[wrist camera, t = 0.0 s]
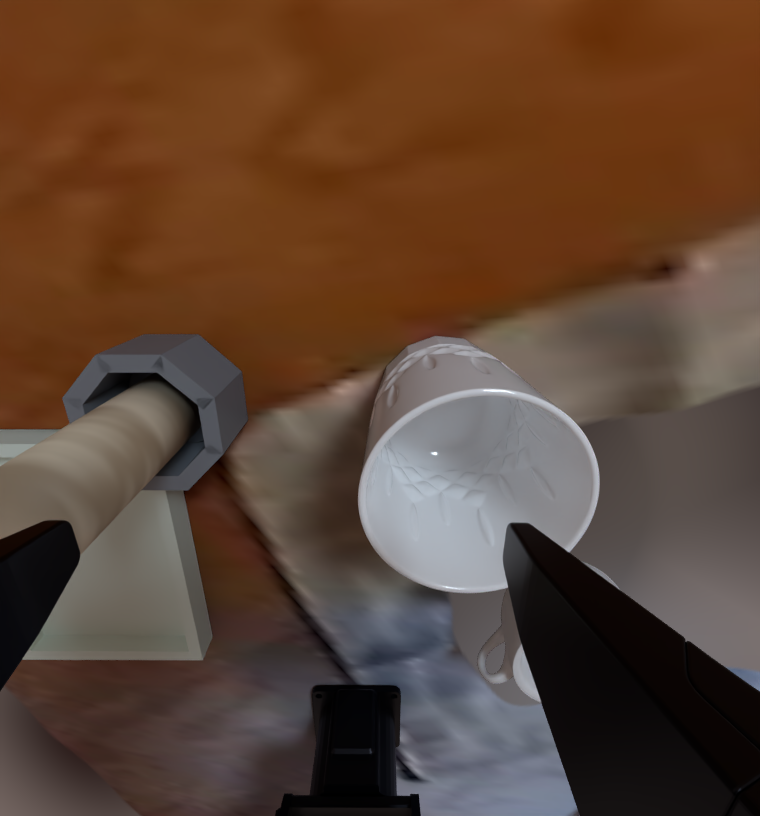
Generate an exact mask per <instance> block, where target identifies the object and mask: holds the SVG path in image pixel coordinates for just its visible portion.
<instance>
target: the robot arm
mask: <svg viewBox="0 0 760 816" xmlns="http://www.w3.org/2000/svg"><path fill="white" fill-rule="evenodd" d="M79 560H80V549H79V546H78V543H77V540H76V537H75V534H74V531H73V528H72V525H71V524H70V523H69V522H68V521H66V520H45V521H42V522H40V523H37V524H35V525H33V526H30V527H28V528H26V529H23V530H21V531H19V532H16V533H14V534H12V535H9V536H7V537H5V538H2V539H0V691H1V689H2V688H3V687H4V685H5V684H6V682H7V681H8V679H9V678H10V676H11V675H12V673H13V672H14V670H15V669H16V667H17V666H18V665H19V663H20V662H21V660H22V659H23V657H24V656H25V654H26V653H27V651H28V650H29V648H30V647H31V645H32V644H33V642H34V641H35V639H36V638H37V636H38V635H39V633H40V631H41V629H42V628H43V626H44V624H45V623H46V621H47V619H48V617H49V616H50V614H51V612H52V610H53V608H54V607H55V605H56V603H57V601H58V600H59V598H60V596H61V594H62V592H63V591H64V589H65V587H66V585H67V584H68V582H69V580H70V578H71V576H72V575H73V573H74V571H75V569H76V567H77V566H78V564H79ZM503 566H504V571H505V576H506V580H507V585H508V589H509V594H510V598H511V603H512V607H513V612H514V616H515V620H516V625H517V629H518V633H519V637H520V641H521V644H522V647H523V650H524V653H525V656H526V659H527V662H528V665H529V668H530V671H531V674H532V677H533V680H534V683H535V686H536V688H537V691H538V694H539V697H540V700H541V703H542V706H543V709H544V712H545V715H546V718H547V721H548V724H549V726H550V729H551V732H552V735H553V738H554V741H555V744H556V747H557V750H558V753H559V756H560V759H561V762H562V764H563V767H564V770H565V773H566V776H567V779H568V782H569V785H570V788H571V791H572V794H573V797H574V800H575V803H576V805H577V808H578V811H579V814H580V816H760V691H758V690H757V689H755V688H754V687H752V686H751V685H749V684H748V683H747V682H745V681H744V680H742V679H741V678H739V677H738V676H737V675H735V674H734V673H732V672H731V671H730V670H728V669H727V668H725V667H724V666H723V665H721V664H720V663H718V662H717V661H716V660H714V659H713V658H711V657H710V656H709V655H707V654H706V653H705V652H703V651H702V650H701V649H699V648H698V647H697V646H695V645H694V644H692V643H691V642H689V641H687V642H685V638H684V637H683V636H681V635H680V634H679V633H677V632H676V631H675V630H673V629H672V628H671V627H669V626H668V625H667V624H665V623H664V622H662V621H661V620H660V619H658V618H657V617H656V616H654V615H653V614H652V613H650V612H649V611H648V610H646V609H645V608H643V607H642V606H641V605H639V604H638V603H637V602H635V601H634V600H633V599H631V598H630V597H629V596H627V595H626V594H625V593H623V592H622V591H621V590H619V589H618V588H617V587H615V586H614V585H612V584H611V583H610V582H608V581H607V580H606V579H604V578H603V577H602V576H600V575H599V574H598V573H596V572H595V571H593V570H592V569H591V568H589V567H588V566H587V565H585V564H584V563H583V562H581V561H580V560H579V559H577V558H576V557H574V556H573V555H572V554H570V553H569V552H568V551H566V550H565V549H564V548H562V547H561V546H560V545H558V544H557V543H556V542H554V541H553V540H552V539H550V538H549V537H547V536H546V535H545V534H543V533H542V532H541V531H539V530H538V529H537V528H535V527H534V526H533V525H531V524H529V523H521V522H512V523H509V524H508V526H507V528H506V535H505V542H504V549H503ZM312 700H313V712H314V723H315V734H316V750H315V757H314V765H313V773H312V781H311V788H310V795H293V794H284V796H283V800H282V804H281V808H279V809H278V810H276V814H275V816H421V814H420V804H419V794H410V796H397V787H396V749H395V748H396V747H398V746H399V742H400V703H401V692H400V689H399V688H398V687H395V686H317V687H315V688H314V689H313V693H312Z"/></svg>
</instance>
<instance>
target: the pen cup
mask: <svg viewBox="0 0 760 816" xmlns="http://www.w3.org/2000/svg"><path fill="white" fill-rule="evenodd" d="M153 373H158V374H160V375H161V376H162V377H163V378H165V379H166V380H167V381H168V382H170V383H171V384H172V385H173V386H175V387H176V388H177V389H178V390H180V391H181V392H182V393H183V394H185V395H186V396H187V397H188V398H190V399H191V400H192V401H193V402H195V403H196V404H197V405H198V409H199V415H200V421H201V427H200V428H199V429H198V430H197V432H196V433H195V434H194V435H193V436H192V437H191V438H190V439H189V440H188V441H187V442H186V443H185V444H184V445H183V446H182V447H181V449H180V450H179V451H178V452H177V453H176V454H175V455H174V456H173V457H172V458H171V459H170V460H169V461H168V462H167V463H166V464H165V466H164V467H163V468H162V469H161V470H160V471H159V472H158V473H157V474H156V475H155V476H154V477H153V478H152V479H151V480H150V482H149V483H148V484H147V485H146V486H145V487H144V488H143V489H142V490H189V489H190V488H191V487H192V486H193V485H194V484H195V483H196V482H197V481H198V480H199V479H200V478H201V477H202V476H203V475H204V473H205V472H206V471H207V470H208V469H209V468H210V467H211V466H212V465H213V464H214V463H215V462H216V461H217V460H218V459H219V458H220V457H221V456H222V455H223V454H224V452H225V451H226V450H227V448H228V447H229V446H230V444H231V443H232V441H233V440H234V439H235V437H236V436H237V434H238V433H239V432H240V430H241V429H242V427H243V426H244V425H245V423H246V422H247V421H248V417H247V409H246V401H245V393H244V385H243V378H242V371H240V370H239V369H238V368H237V367H236V366H235V365H233V364H232V363H231V362H230V361H229V360H228V359H226V358H225V357H224V356H223V355H222V354H221V353H219V352H218V351H217V350H216V349H215V348H214V347H212V346H211V345H210V344H209V343H208V342H207V341H205V340H204V339H203V338H202V337H201V336H200V335H198V334H144V335H141V336H139V337H137V338H134V339H132V340H130V341H127V342H125V343H122V344H120V345H118V346H115V347H113V348H111V349H108V350H106V351H103V352H101V353H99V354H96V355H95V356H94V358H93V359H92V360H91V362H90V363H89V364H88V365H87V367H86V368H85V369H84V371H83V372H82V373H81V375H80V376H79V377H78V378H77V380H76V381H75V382H74V384H73V385H72V386H71V388H70V389H69V390H68V391H67V393H66V394H65V395H64V397H63V398H62V399H63V402H64V405H65V409H66V412H67V415H68V419H69V422H70V423H72V422H74V421H75V420H77V419H79V418H80V417H82V416H84V415H85V414H87V413H89V412H90V411H92V410H94V409H95V408H97V407H98V406H100V405H102V404H103V403H105V402H107V401H108V400H110V399H112V398H113V397H115V396H117V395H118V394H120V393H122V392H123V391H125V390H126V389H128V388H130V387H131V386H133V385H135V384H136V383H138V382H140V381H141V380H143V379H145V378H146V377H148V376H150V375H151V374H153Z"/></svg>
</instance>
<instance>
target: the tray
mask: <svg viewBox="0 0 760 816" xmlns="http://www.w3.org/2000/svg"><path fill="white" fill-rule="evenodd" d="M57 431H59V430H0V466H1V465H3V464H5V463H6V462H8V461H10V460H11V459H13V458H15V457H16V456H18V455H19V454H21V453H23V452H24V451H26V450H28V449H29V448H31V447H33V446H34V445H36V444H38V443H39V442H41V441H43V440H44V439H46V438H47V437H49V436H51V435H52V434H54V433H56V432H57ZM212 637H213V635H212V630H211V625H210V620H209V616H208V611H207V606H206V601H205V596H204V591H203V586H202V581H201V576H200V571H199V566H198V561H197V556H196V551H195V546H194V541H193V536H192V531H191V526H190V522H189V517H188V512H187V507H186V502H185V497H184V492H183V490H141V491H140V492H139V493H138V494H137V495H136V496H135V497H134V499H133V500H132V501H131V502H130V503H129V504H128V505H127V506H126V507H125V508H124V509H123V510H122V511H121V512H120V513H119V514H118V516H117V517H116V518H115V519H114V520H113V521H112V522H111V523H110V524H109V525H108V526H107V527H106V528H105V529H104V530H103V531H102V533H101V534H100V535H99V536H98V537H97V538H96V539H95V540H94V541H93V542H92V543H91V544H90V545H89V546H88V547H87V549H86V550H85V551H84V552H83V553H82V554H81V555H80V560H79V564H78V566H77V567H76V569H75V571H74V573H73V575H72V576H71V578H70V580H69V582H68V584H67V585H66V587H65V589H64V591H63V592H62V594H61V596H60V598H59V600H58V601H57V603H56V605H55V607H54V608H53V610H52V612H51V614H50V616H49V617H48V619H47V621H46V623H45V624H44V626H43V628H42V629H41V631H40V633H39V635H38V636H37V638H36V639H35V641H34V642H33V644H32V645H31V647H30V648H29V650H28V651H27V653H26V654H25V656H24V657H23V659H22V660H203V659H204V656H205V654H206V652H207V649H208V647H209V645H210V642H211V640H212Z"/></svg>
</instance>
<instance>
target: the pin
mask: <svg viewBox="0 0 760 816" xmlns="http://www.w3.org/2000/svg"><path fill="white" fill-rule="evenodd" d="M200 427H201V421H200V415H199V409H198V405H197V404H196V403H195V402H193V401H192V400H191V399H190V398H188V397H187V396H186V395H185V394H183V393H182V392H181V391H180V390H178V389H177V388H176V387H175V386H173V385H172V384H171V383H170V382H168V381H167V380H166V379H165V378H163V377H162V376H161V375H160V374H158V373H153V374H151V375H150V376H148V377H146V378H145V379H143V380H141V381H140V382H138V383H136V384H135V385H133V386H131V387H130V388H128V389H126V390H125V391H123V392H122V393H120V394H118V395H117V396H115V397H113V398H112V399H110V400H108V401H107V402H105V403H103V404H102V405H100V406H98V407H97V408H95V409H94V410H92V411H90V412H89V413H87V414H85V415H84V416H82V417H80V418H79V419H77V420H75V421H74V422H72V423H70V424H69V425H67V426H66V427H64V428H62V429H61V430H59V431H57V432H56V433H54V434H52V435H51V436H49V437H47V438H46V439H44V440H43V441H41V442H39V443H38V444H36V445H34V446H33V447H31V448H29V449H28V450H26V451H24V452H23V453H21V454H19V455H18V456H16V457H15V458H13V459H11V460H10V461H8V462H6V463H5V464H3V465H1V466H0V539H2V538H5V537H7V536H9V535H12V534H14V533H16V532H19V531H21V530H23V529H26V528H28V527H30V526H33V525H35V524H37V523H40V522H42V521H45V520H66V521H68V522H69V523H70V524H71V525H72V528H73V531H74V534H75V537H76V540H77V543H78V546H79V549H80V555H81V554H82V553H83V552H84V551H85V550H86V549H87V547H88V546H89V545H90V544H91V543H92V542H93V541H94V540H95V539H96V538H97V537H98V536H99V535H100V534H101V533H102V531H103V530H104V529H105V528H106V527H107V526H108V525H109V524H110V523H111V522H112V521H113V520H114V519H115V518H116V517H117V516H118V514H119V513H120V512H121V511H122V510H123V509H124V508H125V507H126V506H127V505H128V504H129V503H130V502H131V501H132V500H133V499H134V497H135V496H136V495H137V494H138V493H139V492H140V491H141V490H142V489H143V488H144V487H145V486H146V485H147V484H148V483H149V482H150V480H151V479H152V478H153V477H154V476H155V475H156V474H157V473H158V472H159V471H160V470H161V469H162V468H163V467H164V466H165V464H166V463H167V462H168V461H169V460H170V459H171V458H172V457H173V456H174V455H175V454H176V453H177V452H178V451H179V450H180V449H181V447H182V446H183V445H184V444H185V443H186V442H187V441H188V440H189V439H190V438H191V437H192V436H193V435H194V434H195V433H196V432H197V430H198V429H199V428H200Z"/></svg>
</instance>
